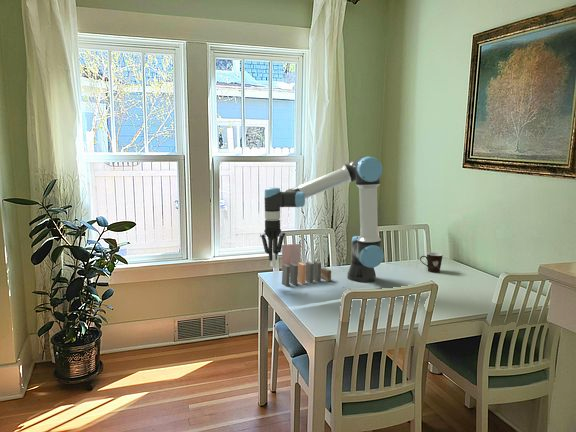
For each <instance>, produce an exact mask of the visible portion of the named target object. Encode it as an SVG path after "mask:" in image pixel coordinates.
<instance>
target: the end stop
mask: <svg viewBox="0 0 576 432" xmlns="http://www.w3.org/2000/svg"><path fill="white" fill-rule="evenodd" d="M321 280H323V281H326V282H327V283H329V282H332V269H330V268H328V267H326V266H321Z"/></svg>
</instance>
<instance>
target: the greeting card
mask: <svg viewBox="0 0 576 432" xmlns="http://www.w3.org/2000/svg"><path fill="white" fill-rule="evenodd" d="M301 246H302V243H295V244H292V243H291V244H282V248H281V271H282V270H283V264H287V265H288V266H290V264H292V263H294V264H296V265H298V263H301V258H302V257H301V253H302V251H301V250H302V249H301Z"/></svg>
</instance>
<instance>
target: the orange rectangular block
mask: <svg viewBox="0 0 576 432" xmlns="http://www.w3.org/2000/svg"><path fill="white" fill-rule="evenodd" d="M298 283H299V284H300V285H305V284H306V263H303V262H300V263H298Z"/></svg>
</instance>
